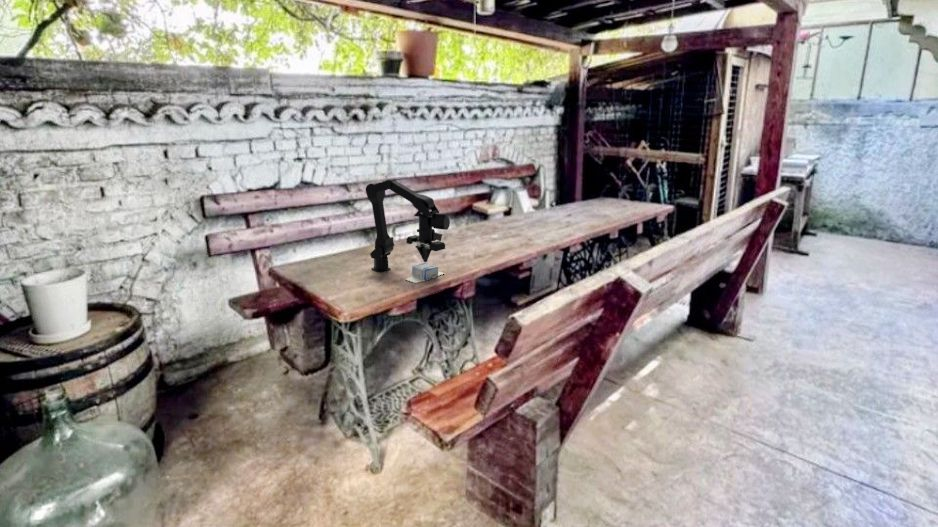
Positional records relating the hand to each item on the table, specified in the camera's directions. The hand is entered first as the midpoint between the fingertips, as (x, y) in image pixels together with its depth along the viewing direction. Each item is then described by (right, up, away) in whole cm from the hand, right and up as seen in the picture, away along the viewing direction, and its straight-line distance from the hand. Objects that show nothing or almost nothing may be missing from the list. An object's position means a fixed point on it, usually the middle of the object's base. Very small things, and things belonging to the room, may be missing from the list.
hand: (425, 261), depth 223 cm
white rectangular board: (0, -7, +2) cm, 7 cm away
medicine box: (-4, -3, +4) cm, 7 cm away
